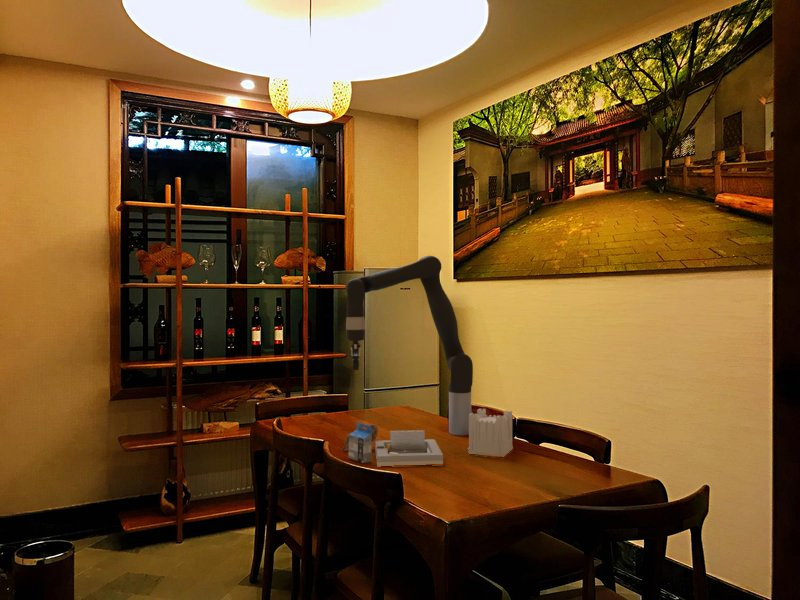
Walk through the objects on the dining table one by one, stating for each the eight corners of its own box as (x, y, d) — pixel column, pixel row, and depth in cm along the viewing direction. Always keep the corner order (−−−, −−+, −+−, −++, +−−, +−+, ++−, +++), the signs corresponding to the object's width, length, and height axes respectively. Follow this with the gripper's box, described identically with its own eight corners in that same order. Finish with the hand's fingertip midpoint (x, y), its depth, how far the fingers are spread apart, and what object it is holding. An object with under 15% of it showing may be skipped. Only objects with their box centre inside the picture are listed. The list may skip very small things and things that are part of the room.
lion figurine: (374, 446, 227) (374, 422, 227) (381, 449, 223) (381, 425, 223) (338, 451, 220) (338, 426, 220) (344, 454, 215) (344, 429, 215)
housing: (434, 448, 223) (434, 437, 223) (443, 465, 201) (443, 453, 201) (375, 450, 221) (375, 438, 221) (377, 466, 199) (377, 454, 199)
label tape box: (347, 458, 210) (347, 423, 210) (357, 456, 213) (357, 421, 213) (362, 463, 203) (362, 427, 203) (372, 461, 206) (372, 425, 206)
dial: (424, 447, 219) (424, 426, 219) (429, 457, 205) (429, 435, 205) (386, 447, 218) (386, 427, 218) (388, 458, 204) (388, 436, 204)
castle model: (503, 458, 209) (503, 417, 209) (462, 453, 216) (462, 414, 216) (512, 449, 221) (512, 411, 221) (473, 445, 227) (473, 408, 227)
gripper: (364, 329, 234) (365, 370, 234) (364, 327, 248) (365, 366, 248) (345, 329, 233) (346, 371, 233) (346, 327, 247) (347, 366, 247)
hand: (356, 368), depth 241 cm, fingers open, 8 cm apart
